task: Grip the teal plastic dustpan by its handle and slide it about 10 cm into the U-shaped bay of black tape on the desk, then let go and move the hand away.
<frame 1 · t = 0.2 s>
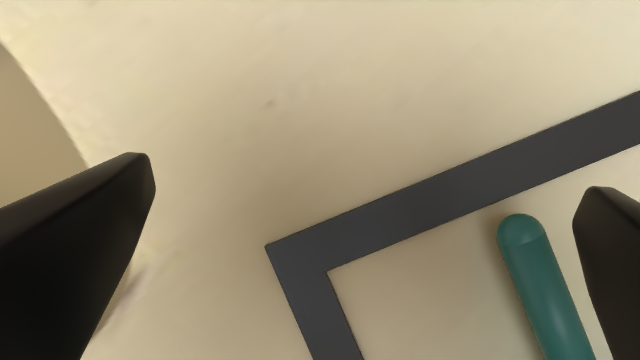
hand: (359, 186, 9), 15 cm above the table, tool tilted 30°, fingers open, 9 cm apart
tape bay: (547, 337, 24), on the table
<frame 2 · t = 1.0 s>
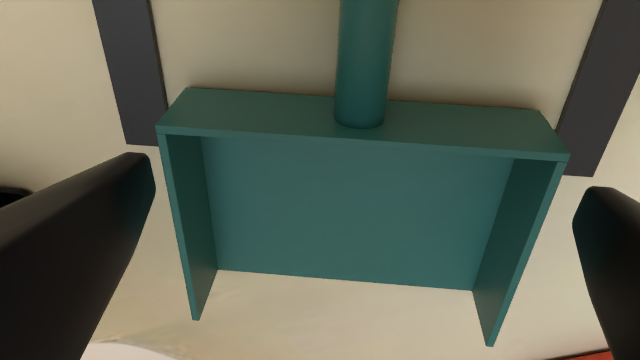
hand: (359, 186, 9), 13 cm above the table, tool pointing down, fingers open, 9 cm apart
dustpan: (350, 201, 25), on the table
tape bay: (366, 18, 20), on the table
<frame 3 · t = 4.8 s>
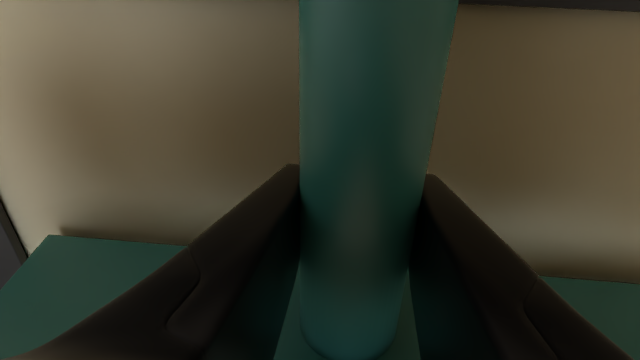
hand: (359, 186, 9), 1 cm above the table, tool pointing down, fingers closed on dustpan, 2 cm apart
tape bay: (346, 284, 13), on the table
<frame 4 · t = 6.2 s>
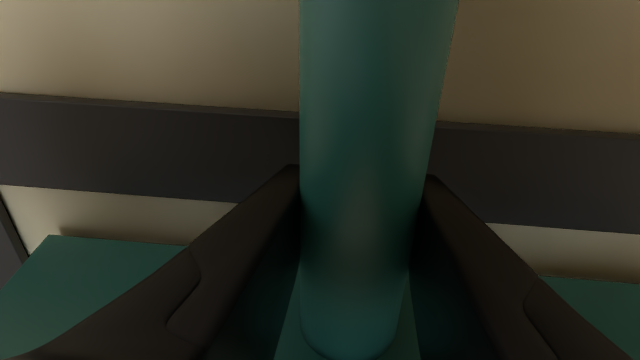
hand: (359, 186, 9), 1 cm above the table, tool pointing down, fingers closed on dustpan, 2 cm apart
when the fingers open (1 cm above the table, at t = 6.5 s): dustpan stays where it is, on the table.
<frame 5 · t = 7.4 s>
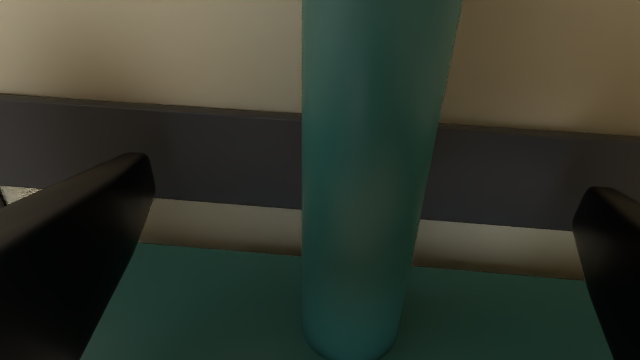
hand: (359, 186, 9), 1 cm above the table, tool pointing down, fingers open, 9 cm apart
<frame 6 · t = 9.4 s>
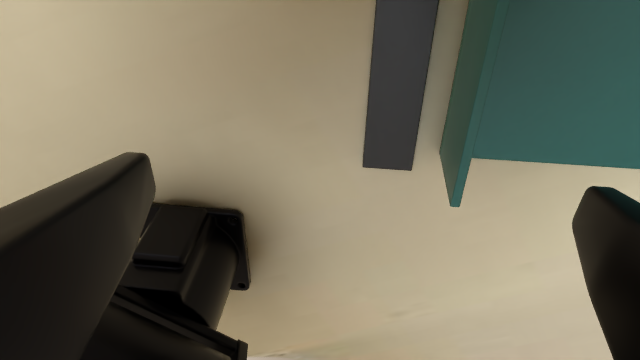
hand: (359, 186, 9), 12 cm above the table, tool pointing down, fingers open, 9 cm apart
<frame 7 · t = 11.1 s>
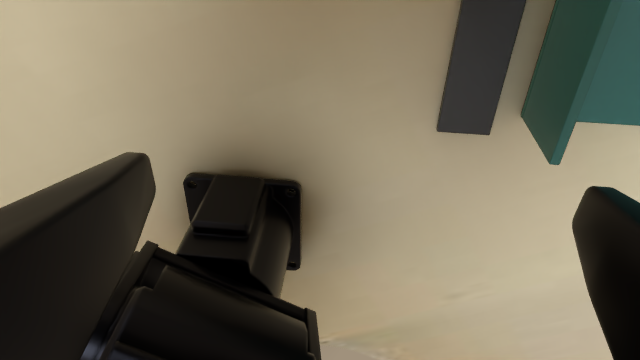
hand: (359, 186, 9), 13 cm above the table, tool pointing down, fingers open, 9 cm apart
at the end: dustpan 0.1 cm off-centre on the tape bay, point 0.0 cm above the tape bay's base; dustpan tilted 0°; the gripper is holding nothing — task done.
